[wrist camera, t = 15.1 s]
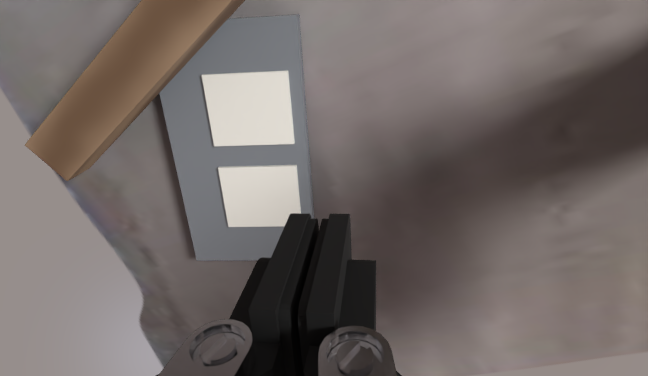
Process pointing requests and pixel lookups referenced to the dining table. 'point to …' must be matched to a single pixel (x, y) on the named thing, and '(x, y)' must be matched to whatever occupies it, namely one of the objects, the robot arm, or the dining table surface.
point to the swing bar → (125, 79)
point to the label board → (241, 137)
